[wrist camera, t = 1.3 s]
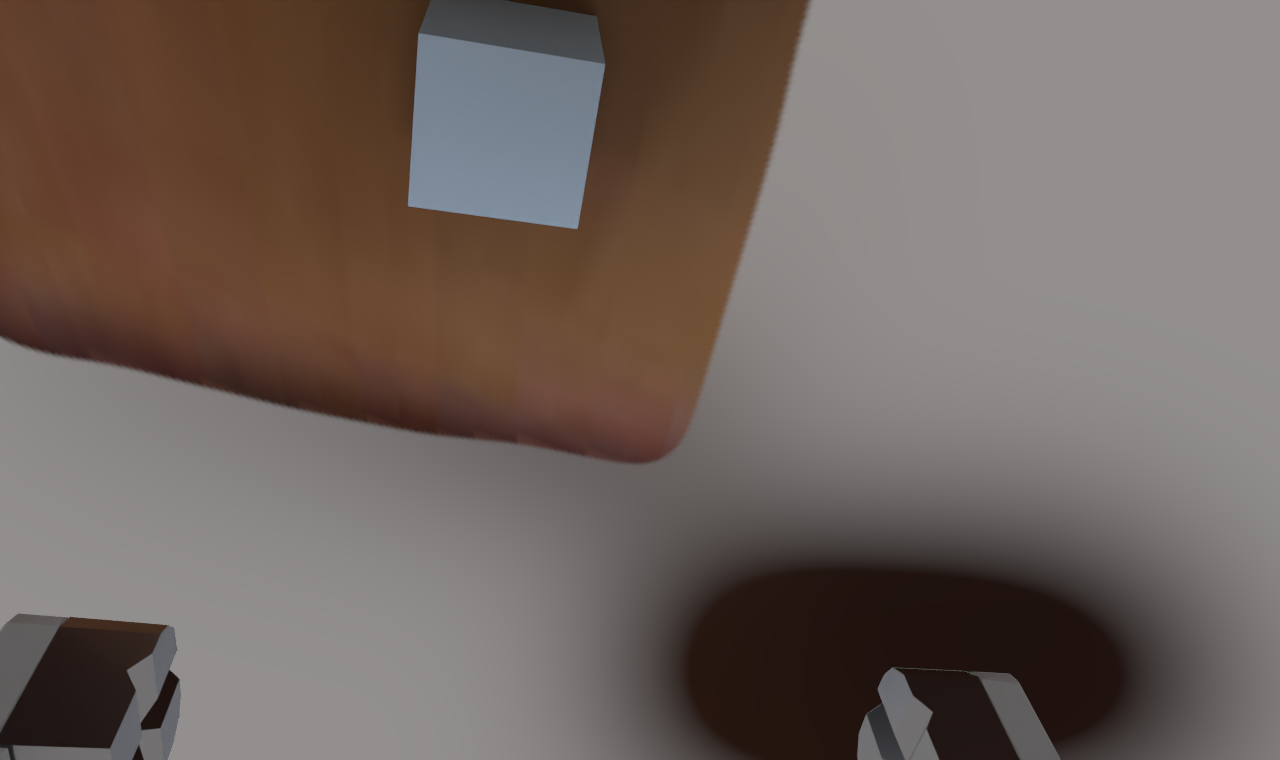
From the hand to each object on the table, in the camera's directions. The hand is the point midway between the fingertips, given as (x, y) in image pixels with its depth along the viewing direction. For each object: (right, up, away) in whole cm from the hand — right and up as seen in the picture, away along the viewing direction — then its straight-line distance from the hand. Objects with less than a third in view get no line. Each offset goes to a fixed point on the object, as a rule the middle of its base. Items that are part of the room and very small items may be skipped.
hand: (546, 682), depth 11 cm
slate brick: (-3, +13, +20) cm, 24 cm away
